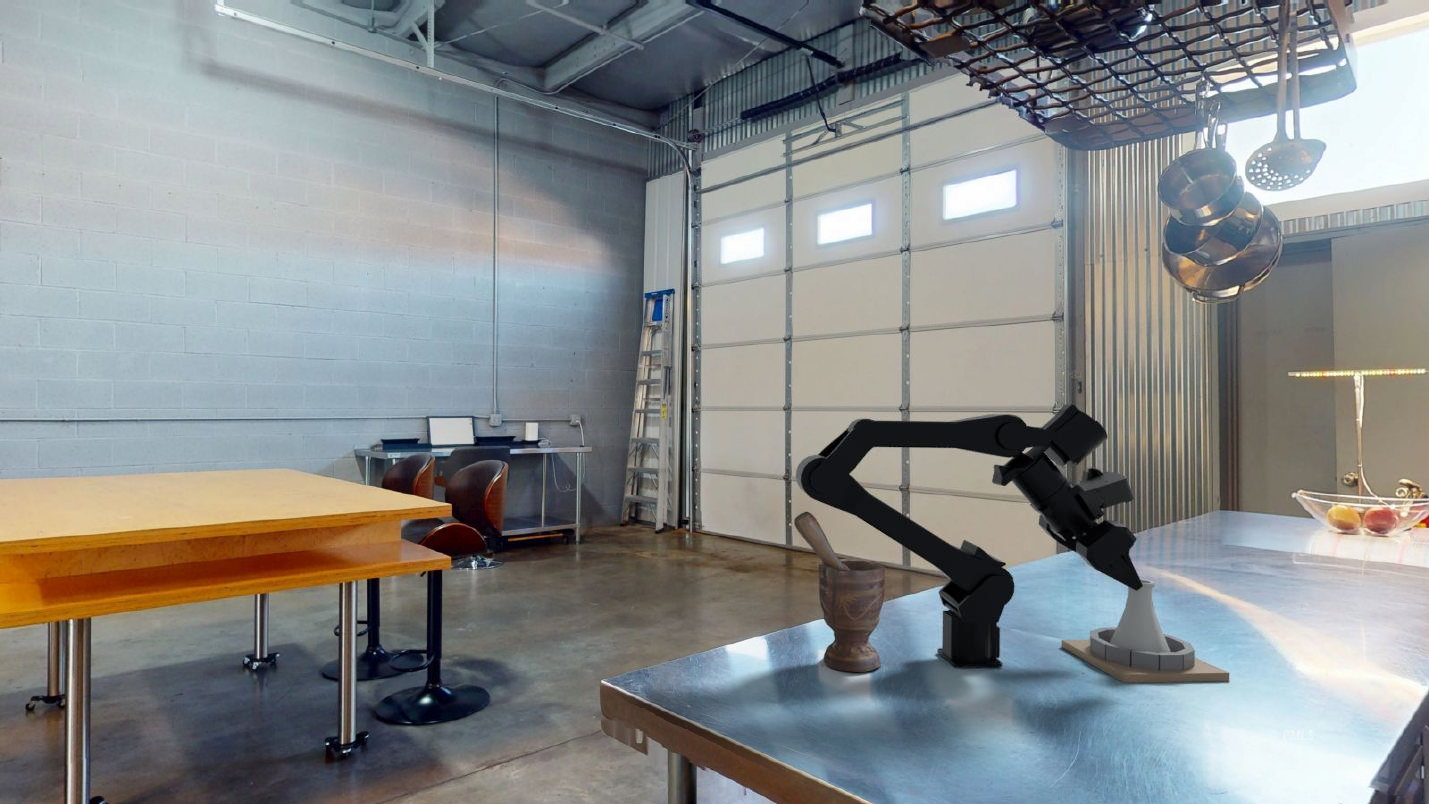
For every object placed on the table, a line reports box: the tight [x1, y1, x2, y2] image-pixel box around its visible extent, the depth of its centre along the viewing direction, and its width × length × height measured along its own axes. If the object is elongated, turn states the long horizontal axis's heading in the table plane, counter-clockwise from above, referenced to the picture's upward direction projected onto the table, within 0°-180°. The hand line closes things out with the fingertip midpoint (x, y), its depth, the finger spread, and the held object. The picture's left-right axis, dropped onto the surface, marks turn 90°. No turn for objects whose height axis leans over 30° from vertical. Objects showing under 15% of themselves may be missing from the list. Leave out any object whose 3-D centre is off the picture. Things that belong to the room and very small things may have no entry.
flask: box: [1110, 578, 1170, 653], centre depth 99 cm, size 7×7×10 cm
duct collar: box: [1060, 626, 1230, 684], centre depth 99 cm, size 14×14×3 cm
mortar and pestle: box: [793, 511, 886, 673], centre depth 97 cm, size 12×9×20 cm
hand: (1123, 577), depth 99 cm, fingers open, 9 cm apart
